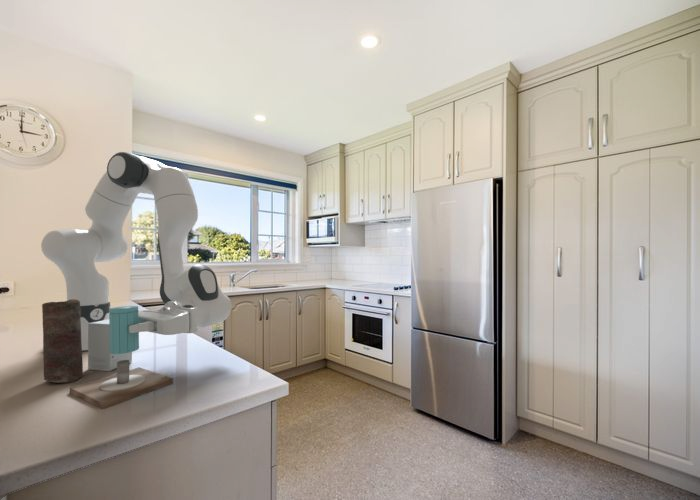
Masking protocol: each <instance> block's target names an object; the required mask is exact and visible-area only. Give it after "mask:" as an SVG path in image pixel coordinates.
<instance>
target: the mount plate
mask: <svg viewBox="0 0 700 500" xmlns="http://www.w3.org/2000/svg"><path fill="white" fill-rule="evenodd" d="M171 383H172V384H174V378H173V377H169V376H168V375H164V374H161V373H158V372H154V371H152V370H149V369H146V368H142V367H135V368H132V369H130V363H129V360H121V361H118V362H117V368H116V373H115V374H112V375H109V376H104V377H102V378H99V379H95V380H91V381H87V382H84V383H81V384H78V385H77V384H76V385H74V386H71V387H69V394H71V395H73V396H75V397H77V398H80V399H81V400H84V401H86V402H88V403H90V404H92V405H94V406H96V407H97V408H99V409H100V408H101V409H107V408H109V407H111V406H114V405H117V404H120V403H123V402H125V401H128V400H130V399H134V398H136V397H139V396H142V395H145V394H147V392H148V393H149V391H150V392H152V390H153V391H155V389H156V390H158V388H159V389H161V388H164V387H166V385H167V386H169V385H168V384H170V385H172V384H171ZM163 386H164V387H163ZM144 393H145V394H144ZM141 394H142V395H141Z"/></svg>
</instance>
